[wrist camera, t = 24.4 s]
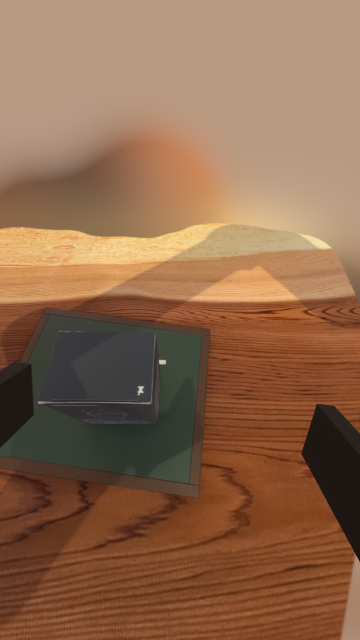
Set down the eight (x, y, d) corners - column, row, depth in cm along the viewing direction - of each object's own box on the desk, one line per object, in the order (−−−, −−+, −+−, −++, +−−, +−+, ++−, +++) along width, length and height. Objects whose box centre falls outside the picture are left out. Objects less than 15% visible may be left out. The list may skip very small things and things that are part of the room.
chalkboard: (209, 332, 32) (210, 328, 31) (197, 496, 23) (198, 498, 22) (48, 311, 33) (45, 306, 32) (-24, 463, 24) (-32, 464, 23)
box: (160, 372, 28) (157, 331, 19) (158, 425, 25) (152, 406, 16) (92, 371, 28) (56, 328, 19) (82, 424, 25) (33, 404, 16)
